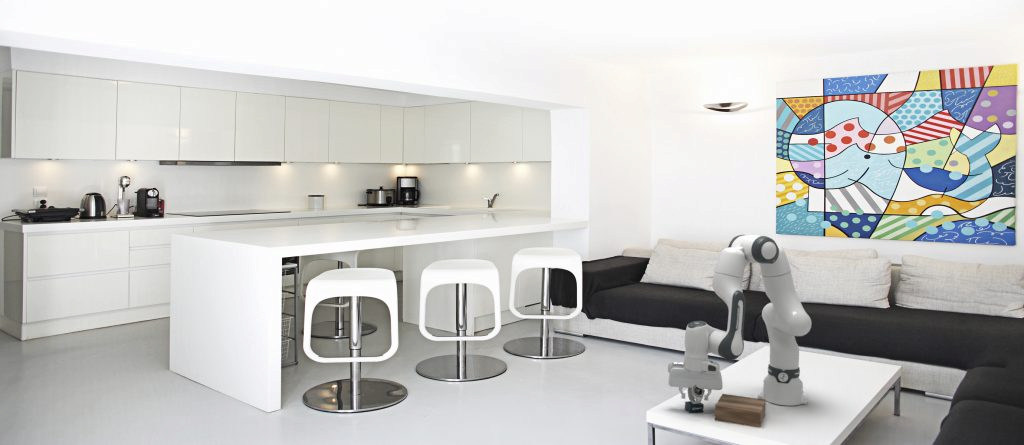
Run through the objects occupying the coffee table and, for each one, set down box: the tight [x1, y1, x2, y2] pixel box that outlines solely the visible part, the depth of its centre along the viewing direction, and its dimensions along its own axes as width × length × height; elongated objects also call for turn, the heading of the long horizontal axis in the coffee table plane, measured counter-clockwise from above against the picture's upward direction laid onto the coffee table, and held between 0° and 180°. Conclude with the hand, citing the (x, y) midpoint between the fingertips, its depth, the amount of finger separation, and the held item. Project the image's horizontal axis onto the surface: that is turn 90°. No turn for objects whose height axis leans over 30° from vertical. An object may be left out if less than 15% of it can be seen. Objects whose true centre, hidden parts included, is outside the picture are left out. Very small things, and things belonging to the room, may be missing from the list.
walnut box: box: [714, 393, 767, 428], centre depth 273 cm, size 16×16×6 cm
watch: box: [684, 385, 706, 414], centre depth 279 cm, size 6×8×11 cm
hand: (694, 399), depth 279 cm, fingers open, 7 cm apart
